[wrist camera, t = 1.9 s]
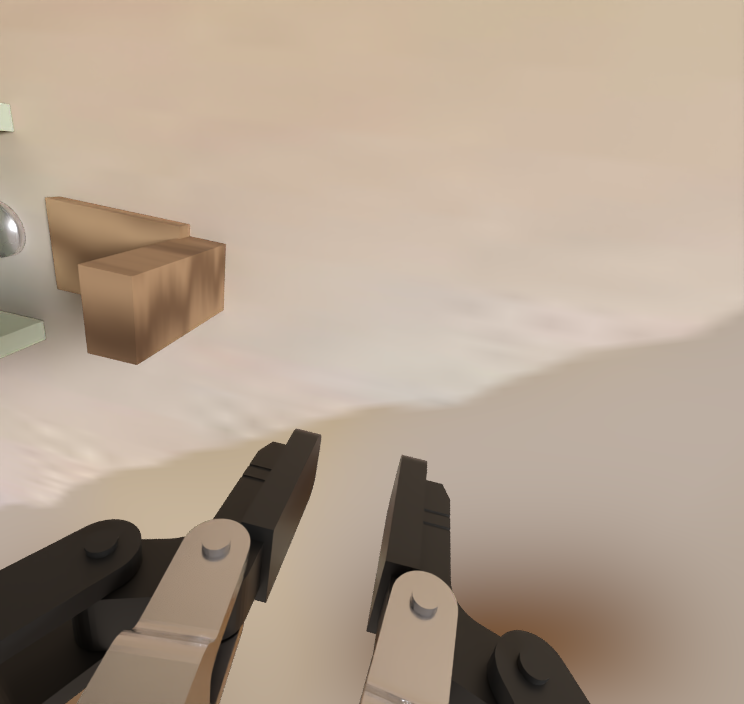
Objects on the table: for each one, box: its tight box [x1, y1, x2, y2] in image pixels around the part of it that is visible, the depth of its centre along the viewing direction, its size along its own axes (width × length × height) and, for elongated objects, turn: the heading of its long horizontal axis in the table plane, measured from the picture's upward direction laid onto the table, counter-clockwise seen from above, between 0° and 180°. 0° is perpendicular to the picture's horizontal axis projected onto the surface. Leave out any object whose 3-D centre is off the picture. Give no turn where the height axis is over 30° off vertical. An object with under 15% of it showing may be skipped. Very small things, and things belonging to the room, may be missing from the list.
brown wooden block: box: [45, 197, 226, 365], centre depth 33 cm, size 8×15×12 cm, turn 80°
